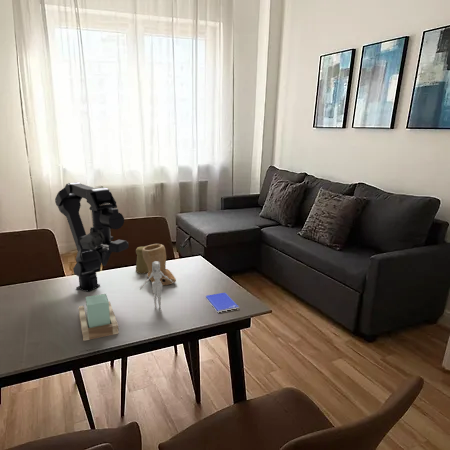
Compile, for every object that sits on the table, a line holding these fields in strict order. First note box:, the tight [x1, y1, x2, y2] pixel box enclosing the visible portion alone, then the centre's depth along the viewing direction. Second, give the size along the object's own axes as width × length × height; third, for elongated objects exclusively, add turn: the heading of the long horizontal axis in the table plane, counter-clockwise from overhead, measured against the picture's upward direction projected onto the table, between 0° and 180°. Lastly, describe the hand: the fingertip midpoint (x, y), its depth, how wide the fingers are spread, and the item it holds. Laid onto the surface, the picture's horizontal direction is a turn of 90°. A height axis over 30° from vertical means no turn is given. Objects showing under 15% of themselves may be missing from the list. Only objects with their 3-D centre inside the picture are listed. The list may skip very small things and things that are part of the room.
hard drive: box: [205, 292, 240, 314], centre depth 134 cm, size 2×8×12 cm
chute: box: [78, 300, 120, 342], centre depth 117 cm, size 17×10×4 cm, turn 25°
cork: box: [135, 246, 149, 274], centre depth 161 cm, size 6×6×11 cm
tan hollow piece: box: [142, 243, 177, 286], centre depth 152 cm, size 15×12×15 cm
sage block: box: [85, 293, 110, 328], centre depth 112 cm, size 6×6×10 cm
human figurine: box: [139, 261, 173, 313], centre depth 126 cm, size 12×4×18 cm, turn 122°
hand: (104, 265), depth 133 cm, fingers closed
